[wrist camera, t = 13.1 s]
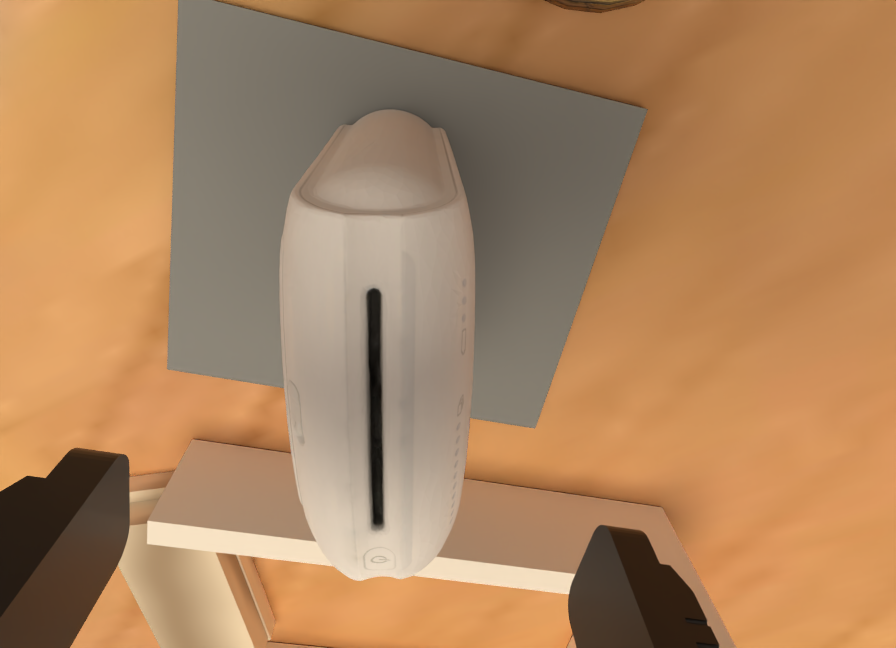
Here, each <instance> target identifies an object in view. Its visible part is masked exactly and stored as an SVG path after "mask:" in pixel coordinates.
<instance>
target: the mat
mask: <svg viewBox="0 0 896 648" xmlns="http://www.w3.org/2000/svg"><path fill="white" fill-rule="evenodd" d="M386 109H395V110H401V111H405V112H408V113H411V114H414V115H416V116H418V117H420V118H421V119H422V120H424V121H425V122H427V123H428V124H429V125H430V126H431V127H432V128H442V129H444V130H445V132H446V135H447V138H448V140H449V143H450V146H451V149H452V152H453V155H454V158H455V162H456V165H457V168H458V171H459V174H460V178H461V181H462V184H463V187H464V191H465V194H466V198H467V203H468V208H469V213H470V219H471V225H472V231H473V240H474V253H475V330H474V360H473V382H472V397H471V412H470V418H473V419H479V420H485V421H492V422H498V423H504V424H510V425H517V426H523V427H529V428H535V427H536V425H537V422H538V419H539V416H540V413H541V410H542V408H543V405H544V402H545V399H546V396H547V393H548V391H549V388H550V385H551V382H552V379H553V376H554V374H555V371H556V368H557V365H558V362H559V359H560V357H561V354H562V351H563V348H564V345H565V342H566V340H567V337H568V334H569V331H570V328H571V325H572V323H573V320H574V317H575V314H576V311H577V308H578V306H579V303H580V300H581V297H582V294H583V291H584V289H585V286H586V283H587V280H588V277H589V274H590V272H591V269H592V266H593V263H594V260H595V257H596V255H597V252H598V249H599V246H600V243H601V240H602V238H603V235H604V232H605V229H606V226H607V223H608V221H609V218H610V215H611V212H612V209H613V206H614V204H615V201H616V198H617V195H618V192H619V189H620V187H621V184H622V181H623V178H624V175H625V172H626V170H627V167H628V164H629V161H630V158H631V155H632V153H633V150H634V147H635V144H636V141H637V138H638V136H639V133H640V130H641V127H642V124H643V121H644V119H645V116H646V113H647V110H648V109H645V108H641V107H637V106H633V105H629V104H625V103H621V102H617V101H613V100H609V99H605V98H601V97H597V96H593V95H589V94H585V93H582V92H578V91H574V90H570V89H566V88H562V87H558V86H554V85H550V84H546V83H542V82H538V81H534V80H530V79H526V78H522V77H518V76H514V75H510V74H506V73H502V72H498V71H494V70H490V69H486V68H482V67H478V66H474V65H470V64H466V63H462V62H458V61H454V60H450V59H446V58H442V57H438V56H434V55H430V54H426V53H422V52H418V51H414V50H410V49H406V48H402V47H398V46H394V45H390V44H386V43H382V42H378V41H374V40H370V39H366V38H362V37H358V36H354V35H350V34H346V33H342V32H338V31H334V30H330V29H326V28H322V27H318V26H314V25H310V24H306V23H302V22H298V21H294V20H290V19H286V18H282V17H278V16H274V15H270V14H266V13H262V12H258V11H254V10H250V9H246V8H242V7H238V6H234V5H230V4H226V3H222V2H218V1H214V0H178V29H177V62H176V96H175V129H174V162H173V195H172V228H171V261H170V294H169V327H168V360H167V369H168V370H175V371H181V372H187V373H193V374H199V375H206V376H212V377H218V378H224V379H231V380H237V381H243V382H249V383H255V384H262V385H268V386H274V387H280V388H284V378H283V364H282V347H281V326H280V298H279V292H280V285H279V269H280V247H281V238H282V234H283V230H284V224H285V217H286V211H287V206H288V202H289V198H290V194H291V192H292V190H293V188H294V187H295V185H296V184H297V183H298V182H299V180H300V179H301V178H302V176H303V175H304V173H305V172H306V170H307V169H308V168H309V167H310V165H311V164H312V163H313V162H314V160H315V159H316V157H318V155H319V154H320V152H321V151H322V150H323V148H324V147H325V145H326V144H327V143H328V141H329V140H330V138H331V137H332V136H333V134H334V133H335V131H336V130H337V129H338V127H339V126H341V125H344V124H345V125H353V124H354V123H356V122H357V121H358V120H359V119H361V118H362V117H364V116H365V115H368V114H370V113H372V112H375V111H379V110H386Z"/></svg>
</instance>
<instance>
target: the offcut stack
mask: <svg viewBox="0 0 896 648" xmlns="http://www.w3.org/2000/svg"><path fill="white" fill-rule="evenodd" d="M173 473H174V471H171V472H163V473H155V474H148V475H140V476H133V477H129V490H130V527H129V534H128V539H127V543H126V546H125V549H124V552H123V554H122V557H121V559H120V561H119V563H118V566H119V568H120V570H121V572H122V574H123V576H124V578H125V580H126V582H127V584H128V586H129V588H130V590H131V591H132V593H133V595H134V597H135V599H136V601H137V603H138V605H139V607H140V609H141V611H142V613H143V615H144V617H145V619H146V620H147V622H148V624H149V626H150V628H151V630H152V632H153V634H154V636H155V638H156V640H157V642H158V644H159V646H160V648H266V645H267V640H271V638H272V634H273V630H274V625H275V618H274V615H273V613H272V610H271V607H270V605H269V602H268V599H267V597H266V594H265V591H264V589H263V586H262V583H261V580H260V578H259V575H258V572H257V570H256V567H255V564H254V562H253V559H252V556H243V555H235V554H227V553H218V552H210V551H201V550H193V549H185V548H176V547H168V546H160V545H151V544H147V521H148V519H149V517H150V515H151V513H152V512H153V510H154V508H155V506H156V504H157V502H158V501H159V499H160V497H161V495H162V493H163V491H164V490H165V488H166V486H167V484H168V482H169V481H170V479H171V477H172V475H173Z"/></svg>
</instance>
